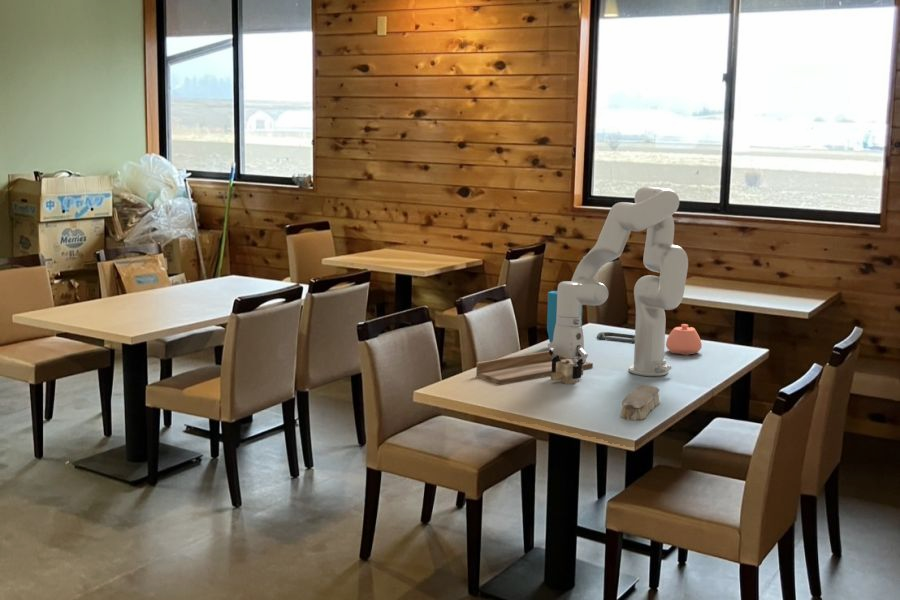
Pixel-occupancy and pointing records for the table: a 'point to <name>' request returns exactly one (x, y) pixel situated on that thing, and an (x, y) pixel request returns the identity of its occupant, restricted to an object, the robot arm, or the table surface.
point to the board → (519, 368)
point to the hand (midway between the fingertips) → (566, 374)
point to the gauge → (564, 372)
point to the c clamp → (606, 334)
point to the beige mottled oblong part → (640, 402)
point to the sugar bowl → (684, 340)
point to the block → (553, 314)
